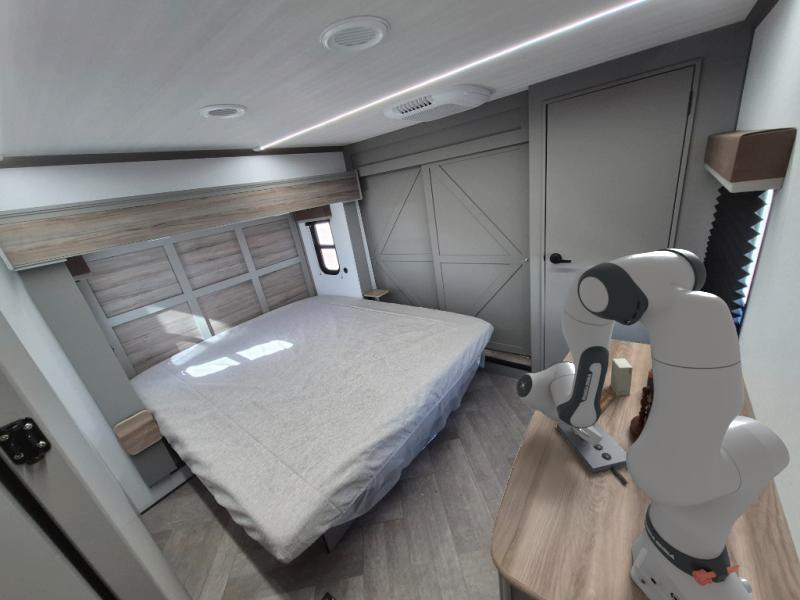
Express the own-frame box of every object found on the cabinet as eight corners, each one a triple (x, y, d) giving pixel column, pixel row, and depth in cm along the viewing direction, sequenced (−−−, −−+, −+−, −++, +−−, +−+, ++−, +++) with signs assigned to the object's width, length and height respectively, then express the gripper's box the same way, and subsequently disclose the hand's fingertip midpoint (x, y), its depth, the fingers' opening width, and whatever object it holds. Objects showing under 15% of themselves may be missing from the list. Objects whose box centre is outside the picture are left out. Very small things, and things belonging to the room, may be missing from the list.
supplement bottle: (670, 397, 109) (676, 371, 105) (651, 398, 110) (656, 372, 106) (660, 386, 114) (664, 361, 110) (642, 387, 115) (646, 362, 111)
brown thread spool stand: (686, 428, 97) (698, 376, 90) (695, 465, 86) (709, 410, 79) (629, 415, 105) (635, 366, 98) (629, 447, 94) (637, 396, 87)
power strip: (646, 479, 85) (647, 472, 84) (605, 489, 85) (605, 482, 84) (589, 419, 106) (590, 413, 105) (556, 427, 106) (556, 421, 105)
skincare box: (630, 395, 113) (633, 368, 108) (616, 395, 114) (619, 368, 109) (622, 384, 119) (625, 357, 114) (609, 384, 120) (612, 358, 115)
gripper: (589, 424, 84) (619, 442, 88) (547, 379, 103) (574, 396, 107) (573, 439, 86) (603, 457, 90) (535, 393, 105) (561, 409, 109)
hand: (587, 423), depth 99 cm, fingers closed on charger plug, 3 cm apart
